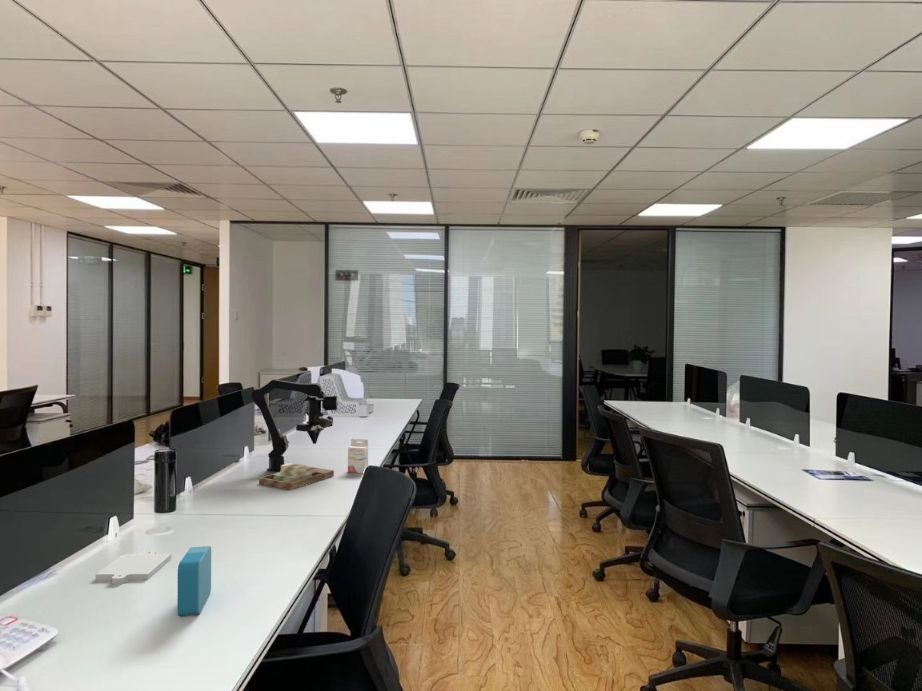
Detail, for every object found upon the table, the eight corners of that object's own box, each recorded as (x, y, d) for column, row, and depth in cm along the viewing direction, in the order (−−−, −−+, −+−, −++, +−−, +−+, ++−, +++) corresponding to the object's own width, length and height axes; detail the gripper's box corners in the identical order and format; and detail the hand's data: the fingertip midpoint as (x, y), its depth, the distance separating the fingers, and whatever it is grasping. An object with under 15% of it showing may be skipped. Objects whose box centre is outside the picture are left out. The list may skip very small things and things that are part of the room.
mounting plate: (128, 557, 158) (128, 550, 158) (175, 557, 159) (175, 550, 159) (89, 586, 140) (89, 578, 140) (143, 585, 141) (143, 578, 141)
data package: (191, 594, 136) (191, 544, 135) (211, 592, 137) (211, 543, 136) (177, 618, 124) (177, 564, 124) (199, 616, 125) (199, 563, 125)
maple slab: (280, 473, 244) (280, 465, 244) (289, 470, 248) (289, 463, 248) (297, 476, 239) (298, 468, 239) (306, 473, 243) (306, 465, 243)
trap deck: (259, 483, 235) (259, 477, 235) (303, 470, 258) (303, 465, 258) (290, 489, 227) (290, 483, 227) (333, 476, 250) (333, 470, 250)
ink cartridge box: (347, 472, 257) (347, 440, 256) (350, 470, 262) (350, 438, 261) (365, 473, 256) (365, 441, 255) (368, 470, 261) (368, 439, 260)
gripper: (313, 414, 249) (313, 449, 250) (341, 409, 266) (341, 442, 266) (295, 412, 255) (295, 446, 255) (323, 407, 271) (323, 439, 271)
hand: (314, 443), depth 262 cm, fingers closed
